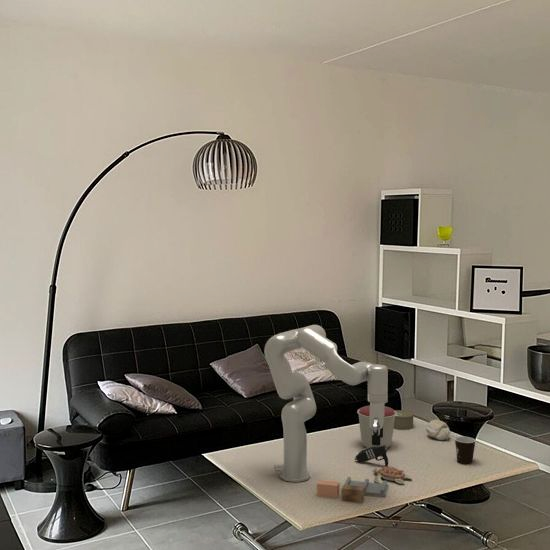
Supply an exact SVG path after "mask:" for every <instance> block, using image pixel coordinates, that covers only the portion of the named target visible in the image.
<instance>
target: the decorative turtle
mask: <svg viewBox="0 0 550 550" xmlns="http://www.w3.org/2000/svg"><path fill="white" fill-rule="evenodd" d="M404 471H405V470H404V469H398V468H396V467H394V466H390V465H388V466H387V467H385V466H382V467H380V468H379V467H374V468H373V469H372V472H373V474H375V476H374V479H373V480H374V483H380V484H383V481H384V480H385V481H391V482H396V483H397V484H401V485H403V484H405V483H406V481H405V480H404V479H409V480H413V477H412V476H409V475H406V474H405V473H404ZM382 479H384V480H382Z"/></svg>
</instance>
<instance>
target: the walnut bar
mask: <svg viewBox="0 0 550 550" xmlns="http://www.w3.org/2000/svg"><path fill="white" fill-rule="evenodd" d="M341 490H342V493H341V502H349V503H358V504H359V503H360V504H363V503H364V500H365V495H364V487H363V486H353V485H344V484H343V485H342V487H341Z"/></svg>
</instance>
